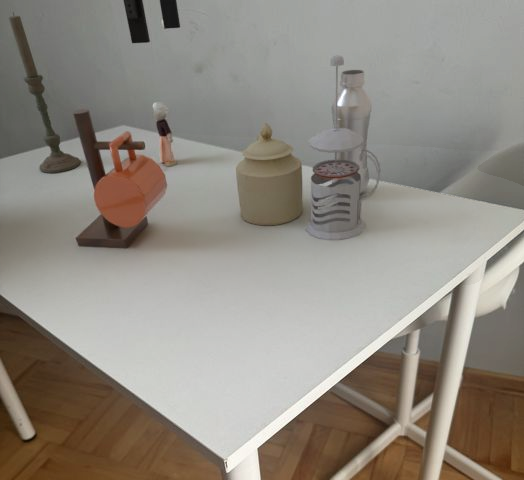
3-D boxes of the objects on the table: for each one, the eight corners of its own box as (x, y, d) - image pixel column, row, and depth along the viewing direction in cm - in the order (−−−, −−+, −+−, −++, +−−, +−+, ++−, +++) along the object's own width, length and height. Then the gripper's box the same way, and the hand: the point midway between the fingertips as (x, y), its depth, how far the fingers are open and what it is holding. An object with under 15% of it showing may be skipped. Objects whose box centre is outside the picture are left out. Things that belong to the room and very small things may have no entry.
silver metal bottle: (362, 201, 95) (367, 77, 82) (326, 197, 97) (326, 76, 85) (372, 187, 99) (379, 67, 87) (337, 184, 102) (339, 67, 89)
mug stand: (77, 245, 89) (37, 120, 77) (102, 222, 96) (69, 103, 84) (152, 249, 86) (123, 119, 74) (172, 224, 93) (148, 102, 81)
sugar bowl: (218, 204, 98) (207, 119, 89) (269, 188, 103) (263, 105, 93) (262, 232, 88) (254, 138, 79) (316, 213, 92) (314, 122, 83)
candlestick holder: (84, 157, 126) (42, 7, 107) (76, 171, 119) (29, 12, 100) (45, 161, 126) (-4, 11, 107) (35, 175, 119) (-19, 17, 100)
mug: (101, 226, 84) (126, 203, 91) (149, 228, 82) (171, 204, 89) (79, 147, 77) (107, 127, 83) (131, 147, 75) (156, 127, 81)
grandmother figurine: (153, 162, 120) (141, 101, 112) (168, 157, 121) (157, 97, 113) (170, 170, 115) (159, 107, 107) (185, 165, 116) (175, 103, 108)
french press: (313, 211, 93) (310, 48, 77) (380, 215, 90) (392, 46, 74) (298, 237, 86) (292, 63, 70) (371, 243, 82) (382, 62, 67)
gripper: (112, -150, 65) (149, 48, 78) (183, -137, 83) (202, 21, 97) (57, -142, 66) (102, 50, 80) (138, -131, 85) (164, 23, 98)
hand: (157, 35), depth 88 cm, fingers open, 13 cm apart
